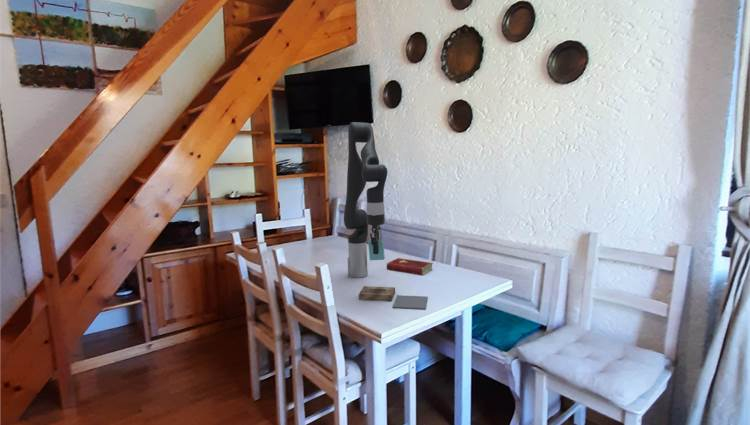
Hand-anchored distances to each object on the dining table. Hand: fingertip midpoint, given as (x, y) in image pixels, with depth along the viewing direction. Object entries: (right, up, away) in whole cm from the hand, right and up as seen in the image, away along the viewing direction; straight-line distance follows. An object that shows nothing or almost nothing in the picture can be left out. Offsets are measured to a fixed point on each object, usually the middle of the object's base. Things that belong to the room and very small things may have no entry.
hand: (376, 253), depth 175 cm
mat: (+14, -20, -6) cm, 25 cm away
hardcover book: (+18, -13, +41) cm, 46 cm away
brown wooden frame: (0, -19, +3) cm, 19 cm away
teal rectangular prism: (0, -3, 0) cm, 3 cm away
